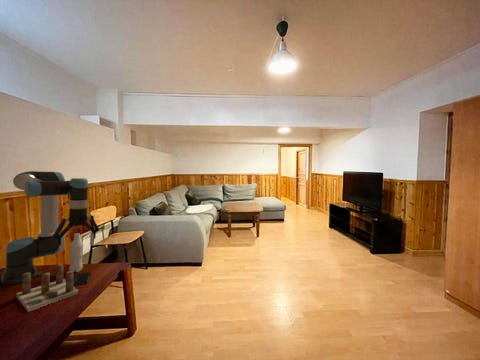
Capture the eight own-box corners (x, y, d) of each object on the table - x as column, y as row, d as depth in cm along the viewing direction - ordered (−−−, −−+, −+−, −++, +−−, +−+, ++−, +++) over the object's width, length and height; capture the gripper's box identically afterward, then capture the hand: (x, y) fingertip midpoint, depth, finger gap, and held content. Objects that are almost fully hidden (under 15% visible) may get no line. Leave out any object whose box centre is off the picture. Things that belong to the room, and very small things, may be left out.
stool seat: (16, 297, 114) (17, 274, 113) (63, 282, 130) (64, 262, 130) (28, 312, 103) (28, 286, 102) (78, 293, 119) (78, 272, 119)
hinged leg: (47, 289, 118) (48, 271, 117) (59, 294, 113) (59, 276, 113) (39, 292, 114) (39, 274, 114) (50, 298, 110) (51, 279, 110)
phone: (91, 272, 143) (88, 282, 130) (91, 273, 143) (88, 284, 130) (76, 274, 139) (72, 285, 126) (76, 276, 139) (72, 287, 126)
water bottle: (79, 268, 150) (80, 231, 149) (84, 270, 146) (85, 233, 145) (66, 271, 144) (68, 233, 143) (72, 274, 140) (73, 235, 139)
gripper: (49, 211, 103) (48, 256, 103) (107, 206, 123) (105, 244, 124) (45, 209, 107) (44, 252, 108) (101, 204, 127) (100, 241, 128)
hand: (77, 248), depth 116 cm, fingers open, 13 cm apart
